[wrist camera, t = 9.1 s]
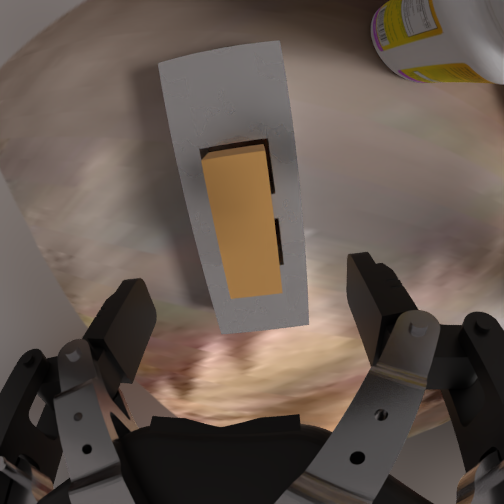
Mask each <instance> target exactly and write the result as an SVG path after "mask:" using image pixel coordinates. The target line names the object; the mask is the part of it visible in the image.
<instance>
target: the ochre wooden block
mask: <svg viewBox="0 0 504 504" xmlns="http://www.w3.org/2000/svg"><path fill="white" fill-rule="evenodd" d="M201 163H202V168H203V173H204V178H205V183H206V188H207V193H208V198H209V203H210V207H211V212H212V217H213V222H214V226H215V231H216V236H217V240H218V245H219V249H220V254H221V258H222V263H223V267H224V272H225V276H226V281H227V285H228V289H229V294H230V298H231V299H235V298H244V297H254V296H262V295H271V294H279V293H283V292H282V283H281V274H280V265H279V256H278V247H277V239H276V230H275V222H274V214H273V206H272V198H271V190H270V182H269V175H268V167H267V160H266V153H265V148H264V144H261V145H253V146H246V147H239V148H233V149H226V150H220V151H214V152H209V153H208V154H207V155H206V156H205V157H204V158H203V159H202V160H201Z"/></svg>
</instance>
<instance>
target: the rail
mask: <svg viewBox="0 0 504 504" xmlns="http://www.w3.org/2000/svg"><path fill="white" fill-rule="evenodd" d="M158 68H159V74H160V80H161V86H162V91H163V97H164V102H165V108H166V113H167V118H168V123H169V128H170V133H171V138H172V143H173V148H174V153H175V157H176V162H177V166H178V171H179V175H180V180H181V184H182V189H183V193H184V197H185V201H186V206H187V210H188V214H189V218H190V222H191V226H192V230H193V234H194V238H195V242H196V245H197V249H198V253H199V257H200V261H201V264H202V268H203V272H204V275H205V279H206V283H207V286H208V290H209V293H210V297H211V300H212V304H213V307H214V311H215V314H216V317H217V321H218V324H219V327H220V331H221V334H231V333H242V332H252V331H262V330H271V329H279V328H287V327H295V326H303V325H309V311H308V289H307V271H306V255H305V240H304V227H303V215H302V204H301V193H300V183H299V173H298V164H297V155H296V146H295V138H294V130H293V122H292V115H291V107H290V100H289V93H288V87H287V80H286V74H285V68H284V61H283V56H282V50H281V44H280V40H279V41H268V42H258V43H250V44H243V45H236V46H230V47H224V48H219V49H213V50H208V51H204V52H199V53H194V54H190V55H186V56H182V57H178V58H174V59H170V60H167V61H163V62H160V63H158ZM265 138H267V144H268V151H269V158H270V166H271V173H272V180H273V181H270V190H271V198H272V206H273V214H274V219H275V218H277V220H278V228H279V236H280V245H277V247H278V256H279V265H280V274H281V283H282V292H283V293H279V294H271V295H262V296H254V297H244V298H235V299H231V298H230V294H229V289H228V285H227V281H226V276H225V272H224V267H223V263H222V258H221V254H220V249H219V245H218V240H217V236H216V231H215V226H214V222H213V217H212V212H211V207H210V203H209V198H208V193H207V188H206V183H205V178H204V173H203V168H202V163H201V160H202V159H203V158H204V157H205V156H206V155H207V154H208V153H209V150H208V147H213V146H219V145H224V144H230V143H237V142H243V141H250V140H257V139H265Z"/></svg>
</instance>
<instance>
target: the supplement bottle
mask: <svg viewBox="0 0 504 504" xmlns="http://www.w3.org/2000/svg"><path fill="white" fill-rule="evenodd" d="M371 38H372V42H373V45H374V47H375V49H376V51H377V53H378V55H379V56H380V58H381V59H382V61H383V62H384V63H385V64H386V65H387V66H388V67H389V68H390V69H391V70H392V71H393V72H394V73H396V74H397V75H399V76H401V77H402V78H404V79H407V80H409V81H413V82H418V83H436V82H474V83H492V84H504V0H390V1H388V2H387V3H385V4H384V5H383V6H381V7H380V8H379V9H378V10H377V11H376V13H375V14H374V16H373V18H372V22H371Z"/></svg>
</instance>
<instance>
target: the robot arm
mask: <svg viewBox="0 0 504 504" xmlns="http://www.w3.org/2000/svg"><path fill="white" fill-rule="evenodd" d="M347 299H348V304H349V307H350V309H351V312H352V314H353V317H354V320H355V322H356V325H357V328H358V331H359V333H360V336H361V339H362V342H363V345H364V348H365V350H366V353H367V356H368V359H369V362H370V365H371V369H370V370H369V372H368V374H367V376H366V378H365V379H364V381H363V383H362V385H361V387H360V388H359V390H358V392H357V394H356V395H355V397H354V399H353V401H352V402H351V404H350V406H349V407H348V409H347V411H346V412H345V414H344V415H343V417H342V419H341V420H340V422H339V423H338V425H337V426H336V428H335V429H334V431H333V432H331V431H328V430H326V429H323V428H320V427H316V426H312V425H306V424H300V415H299V414H297V415H287V416H276V417H263V418H257V419H254V420H250V421H246V422H242V423H238V424H234V425H230V426H225V427H216V426H212V425H208V424H204V423H200V422H197V421H193V420H189V419H186V418H171V417H157V416H153V417H152V420H151V424H150V426H147V427H143V428H139V429H138V427H137V425H136V424H135V421H134V419H133V417H132V414H131V412H130V410H129V408H128V405H127V403H126V401H125V398H124V396H123V393H122V391H121V390H120V389H119V386H120V383H130V384H132V383H133V381H134V378H135V375H136V372H137V370H138V367H139V364H140V362H141V359H142V357H143V354H144V351H145V349H146V346H147V344H148V341H149V339H150V336H151V334H152V331H153V329H154V326H155V324H156V310H155V307H154V304H153V302H152V300H151V297H150V295H149V292H148V290H147V287H146V285H145V282H144V281H143V279H141V278H137V279H128V280H124V281H123V282H122V283H121V285H120V286H119V288H118V289H117V291H116V292H115V293H114V294H113V295H111V296H110V297H109V298H108V299H107V300H106V301H105V303H104V304H103V306H102V307H101V310H99V312H98V314H97V315H96V316H97V317H95V318H94V320H93V322H92V323H91V325H90V326H89V328H88V330H87V331H86V333H85V335H84V336H83V338H82V339H75V340H72V341H71V342H68V343H67V344H65V345H64V346H63V347H62V349H61V350H60V351H59V353H58V356H56V357H51V358H47V359H46V357H45V356H44V354H43V353H42V352H41V350H39V349H32V350H29V351H27V352H26V353H25V354H24V355H22V357H21V358H20V359H19V361H18V362H17V365H16V366H15V367H14V370H13V371H12V373H11V374H10V376H9V378H8V380H7V382H6V384H5V385H4V387H3V389H2V391H1V393H0V504H433V503H432V502H430V501H429V500H427V499H425V498H424V497H422V496H421V495H419V494H418V493H416V492H415V491H413V490H412V489H410V488H409V487H407V486H406V485H404V484H403V483H401V482H400V481H399V480H397V479H396V478H394V477H393V476H392V475H390V474H389V473H390V471H391V469H392V467H393V465H394V463H395V461H396V459H397V457H398V455H399V453H400V451H401V449H402V447H403V444H404V442H405V440H406V438H407V435H408V433H409V431H410V428H411V426H412V424H413V421H414V419H415V416H416V414H417V411H418V408H419V406H420V403H421V400H422V398H423V395H424V392H425V389H440V390H441V392H442V395H443V398H444V401H445V403H446V406H447V409H448V412H449V415H450V418H451V421H452V424H453V427H454V431H455V434H456V437H457V441H458V444H459V448H460V451H461V455H462V459H463V463H464V467H465V470H466V473H465V474H464V476H463V477H462V478H461V480H460V482H459V484H458V487H457V500H456V504H504V330H503V329H502V327H501V326H500V324H499V323H498V322H497V320H496V319H495V318H494V317H492V316H491V315H489V314H487V313H484V312H472V313H470V314H468V315H467V316H466V317H465V319H464V322H463V324H462V325H441V324H439V322H438V320H437V319H436V318H435V317H434V316H433V315H432V314H430V313H428V312H425V311H422V310H418V308H417V307H416V305H415V303H414V302H413V300H412V299H411V297H410V296H409V294H408V292H407V291H406V289H405V288H404V287H403V286H402V283H401V282H400V280H398V277H397V276H396V274H395V273H394V271H393V270H392V269H391V268H389V267H388V266H386V265H385V264H383V263H378V264H376V263H375V262H374V260H373V259H372V257H371V256H370V254H369V253H368V252H362V253H354V254H349V255H348V258H347ZM37 394H38V396H39V397H40V398H42V400H43V401H44V402H45V403H46V405H45V407H44V410H43V412H42V414H41V417H40V419H39V422H38V424H37V427H35V426H34V425H33V424H32V423H31V421H30V419H29V410H30V407H31V405H32V403H33V401H34V399H35V396H36V395H37ZM62 453H64V457H65V461H66V465H67V469H68V472H69V476H70V478H69V479H67V480H66V481H65V482H63V483H62V484H61V485H59V486H58V487H57V488H56V489H54V490H53V484H54V481H55V477H56V473H57V470H58V466H59V463H60V459H61V456H62Z"/></svg>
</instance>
